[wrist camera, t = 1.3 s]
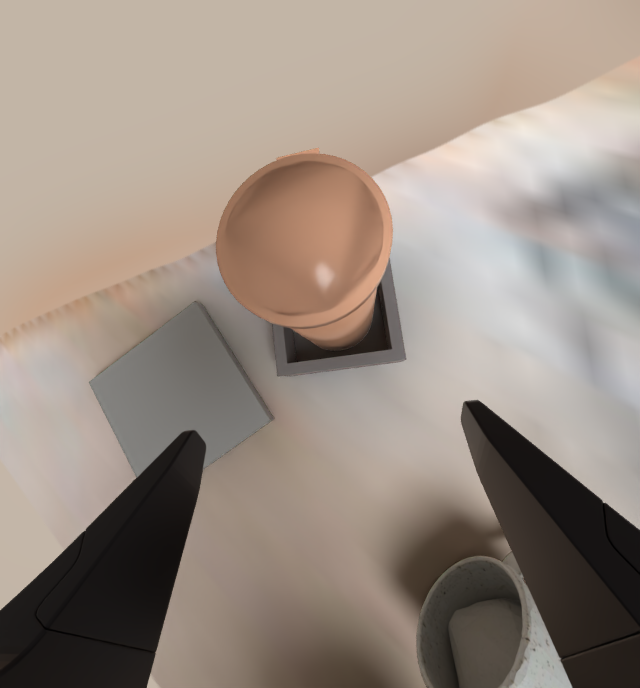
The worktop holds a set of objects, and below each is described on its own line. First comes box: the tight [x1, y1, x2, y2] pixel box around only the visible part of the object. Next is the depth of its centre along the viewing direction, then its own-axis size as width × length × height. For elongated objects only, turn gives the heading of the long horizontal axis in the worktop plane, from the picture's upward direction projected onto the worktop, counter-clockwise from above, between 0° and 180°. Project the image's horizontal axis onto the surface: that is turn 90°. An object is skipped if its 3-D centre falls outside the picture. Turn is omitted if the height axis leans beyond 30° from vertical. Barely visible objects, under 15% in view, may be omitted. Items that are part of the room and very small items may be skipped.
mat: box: [89, 301, 274, 477], centre depth 24 cm, size 12×12×1 cm
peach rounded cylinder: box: [216, 148, 393, 351], centre depth 17 cm, size 8×7×13 cm
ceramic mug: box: [417, 552, 572, 688], centre depth 15 cm, size 11×8×8 cm
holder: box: [272, 258, 406, 376], centre depth 22 cm, size 9×9×3 cm
